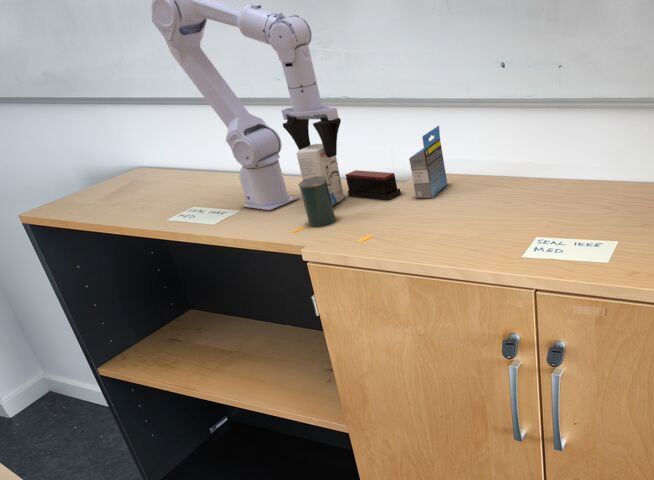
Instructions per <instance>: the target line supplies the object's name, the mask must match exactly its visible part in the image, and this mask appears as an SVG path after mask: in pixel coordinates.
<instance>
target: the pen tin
mask: <svg viewBox="0 0 654 480" xmlns="http://www.w3.org/2000/svg"><path fill="white" fill-rule="evenodd" d="M298 187H299V190H300V194H301V197H302V198H301V199H302V201H303V205H304V209H305V212H306V213H305V214H306V217H307V220H308V224H309V226H310V227H315V228H317V227H318V228H319V227H325V226H328V225H331V224H332V223H334V222H335V221H336V219H337V218H336V215H335V211H334V205H333V206H332V202H331V198H330V193H329V189H328V185H327V179H326V178H324V177H317V178H311V179H307V180H304V181H303V180H302V181H300V182H298Z"/></svg>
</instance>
